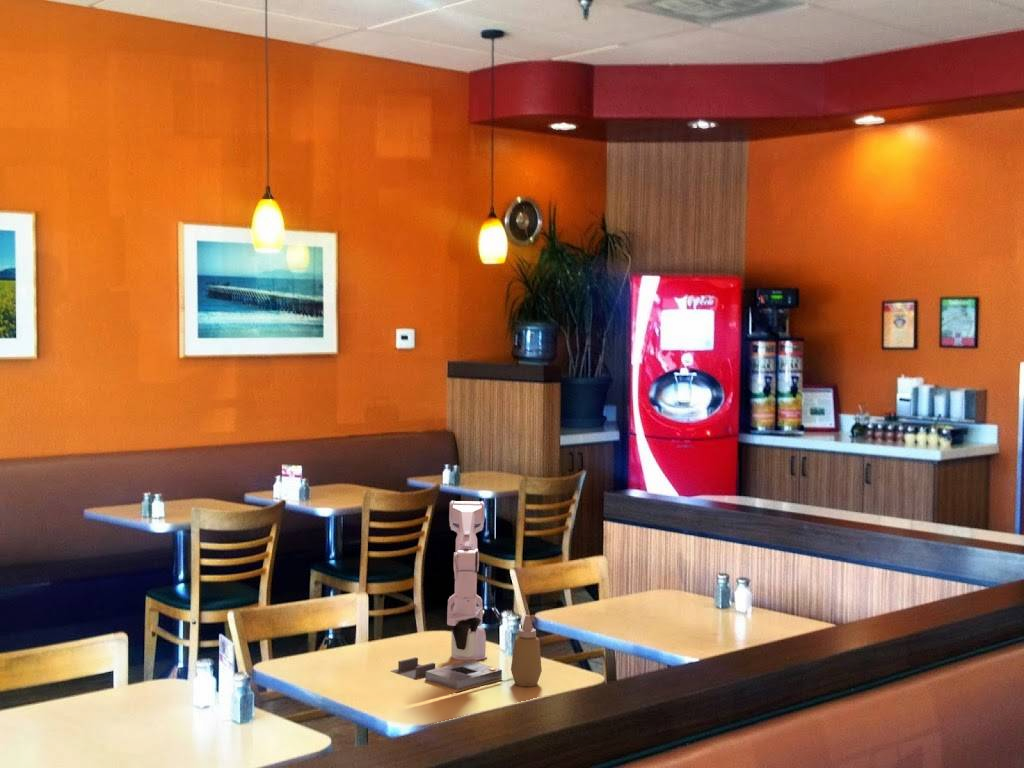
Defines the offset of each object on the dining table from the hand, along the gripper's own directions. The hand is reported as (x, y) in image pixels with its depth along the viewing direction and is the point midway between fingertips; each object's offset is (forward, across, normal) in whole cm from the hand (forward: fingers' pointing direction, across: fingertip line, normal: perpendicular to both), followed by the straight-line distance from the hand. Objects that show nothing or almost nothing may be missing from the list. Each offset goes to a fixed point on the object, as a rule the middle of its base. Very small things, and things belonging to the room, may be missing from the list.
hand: (464, 647), depth 330 cm
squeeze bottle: (+9, -7, +15) cm, 19 cm away
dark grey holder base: (+9, +1, -14) cm, 17 cm away
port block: (+9, 0, 0) cm, 9 cm away
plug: (+2, 0, 0) cm, 2 cm away
